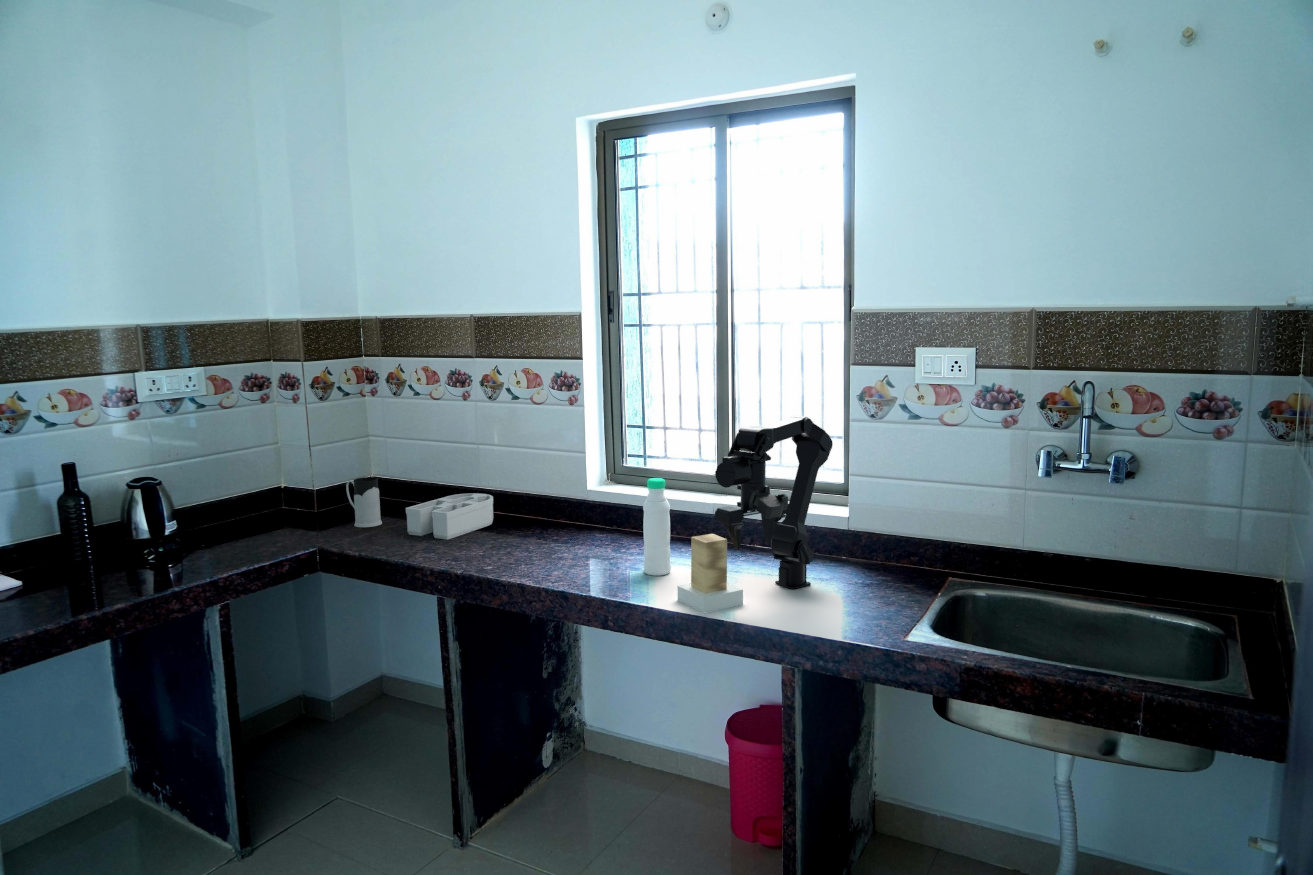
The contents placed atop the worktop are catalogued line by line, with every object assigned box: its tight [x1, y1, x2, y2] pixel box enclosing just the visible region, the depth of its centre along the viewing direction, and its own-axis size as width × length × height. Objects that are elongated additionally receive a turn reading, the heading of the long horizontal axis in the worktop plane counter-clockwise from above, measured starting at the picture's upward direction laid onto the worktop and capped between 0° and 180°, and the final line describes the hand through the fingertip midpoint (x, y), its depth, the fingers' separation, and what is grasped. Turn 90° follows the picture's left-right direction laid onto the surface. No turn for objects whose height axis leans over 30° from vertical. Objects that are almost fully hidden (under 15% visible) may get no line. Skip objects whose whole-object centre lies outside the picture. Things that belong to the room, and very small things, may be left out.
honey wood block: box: [690, 533, 728, 593], centre depth 205 cm, size 6×6×12 cm
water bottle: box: [642, 477, 672, 577], centre depth 229 cm, size 7×7×25 cm
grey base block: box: [677, 582, 744, 614], centre depth 207 cm, size 11×11×4 cm
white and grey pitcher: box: [345, 476, 383, 528], centre depth 290 cm, size 9×14×15 cm, turn 57°
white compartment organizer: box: [405, 492, 494, 541], centre depth 283 cm, size 17×28×9 cm, turn 152°
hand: (752, 546), depth 206 cm, fingers open, 9 cm apart
